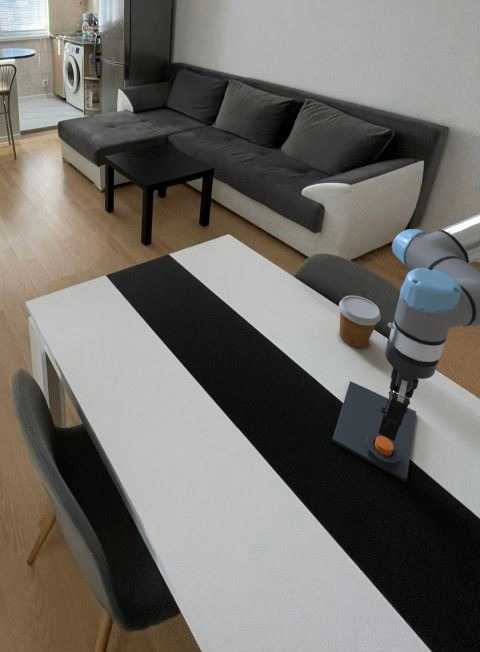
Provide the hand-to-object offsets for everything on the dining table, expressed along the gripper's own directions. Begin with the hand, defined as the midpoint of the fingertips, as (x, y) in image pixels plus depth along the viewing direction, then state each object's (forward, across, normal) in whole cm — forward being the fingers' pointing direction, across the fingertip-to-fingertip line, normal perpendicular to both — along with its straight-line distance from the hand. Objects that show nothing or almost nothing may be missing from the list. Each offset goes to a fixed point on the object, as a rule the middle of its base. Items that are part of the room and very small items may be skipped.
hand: (386, 434), depth 87 cm
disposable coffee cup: (+8, -31, -10) cm, 34 cm away
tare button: (+4, 0, 0) cm, 4 cm away
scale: (+8, -6, -2) cm, 10 cm away
